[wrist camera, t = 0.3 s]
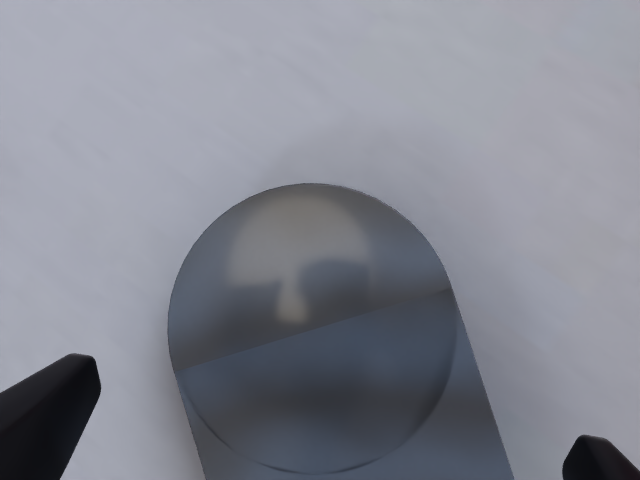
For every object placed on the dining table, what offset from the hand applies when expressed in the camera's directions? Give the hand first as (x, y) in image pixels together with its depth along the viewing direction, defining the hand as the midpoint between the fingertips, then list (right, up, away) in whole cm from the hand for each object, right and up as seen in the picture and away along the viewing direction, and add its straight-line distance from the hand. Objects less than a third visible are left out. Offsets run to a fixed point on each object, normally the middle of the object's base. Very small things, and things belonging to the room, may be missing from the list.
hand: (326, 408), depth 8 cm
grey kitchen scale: (+2, -7, +14) cm, 16 cm away
